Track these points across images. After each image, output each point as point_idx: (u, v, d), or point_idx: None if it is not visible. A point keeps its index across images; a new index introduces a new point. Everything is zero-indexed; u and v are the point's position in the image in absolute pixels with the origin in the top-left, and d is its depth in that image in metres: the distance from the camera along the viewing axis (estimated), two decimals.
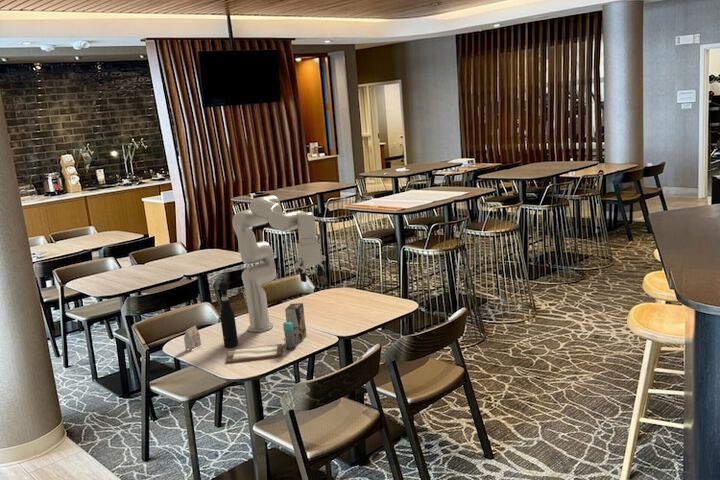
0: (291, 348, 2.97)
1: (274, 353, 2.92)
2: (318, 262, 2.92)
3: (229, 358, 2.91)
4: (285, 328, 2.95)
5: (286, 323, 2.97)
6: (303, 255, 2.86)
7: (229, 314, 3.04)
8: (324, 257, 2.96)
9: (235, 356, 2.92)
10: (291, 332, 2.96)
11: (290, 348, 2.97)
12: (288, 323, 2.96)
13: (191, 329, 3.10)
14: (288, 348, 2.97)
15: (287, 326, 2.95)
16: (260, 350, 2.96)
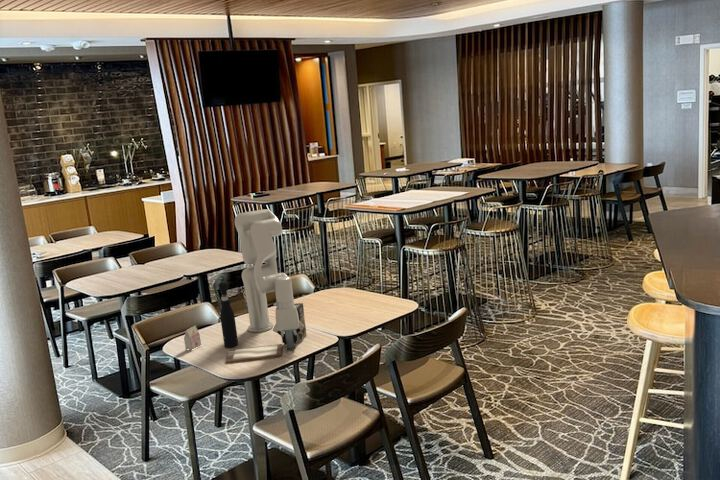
0: (291, 348, 2.97)
1: (274, 353, 2.92)
2: None
3: (229, 358, 2.91)
4: None
5: None
6: None
7: (229, 314, 3.04)
8: None
9: (235, 356, 2.92)
10: (291, 332, 2.96)
11: (290, 348, 2.97)
12: None
13: (191, 329, 3.10)
14: (288, 348, 2.97)
15: None
16: (260, 350, 2.96)
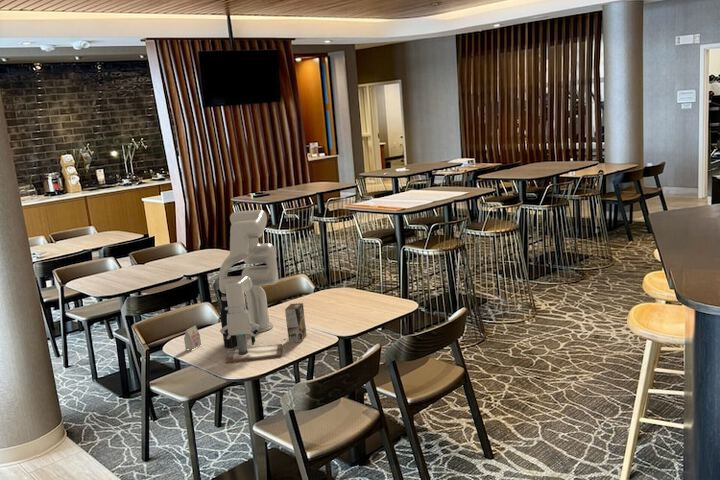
0: (243, 352, 2.93)
1: (274, 353, 2.92)
2: None
3: (229, 358, 2.91)
4: None
5: None
6: None
7: None
8: None
9: (235, 356, 2.92)
10: (243, 336, 2.93)
11: (242, 352, 2.93)
12: None
13: (191, 329, 3.10)
14: (240, 352, 2.94)
15: None
16: (260, 350, 2.96)
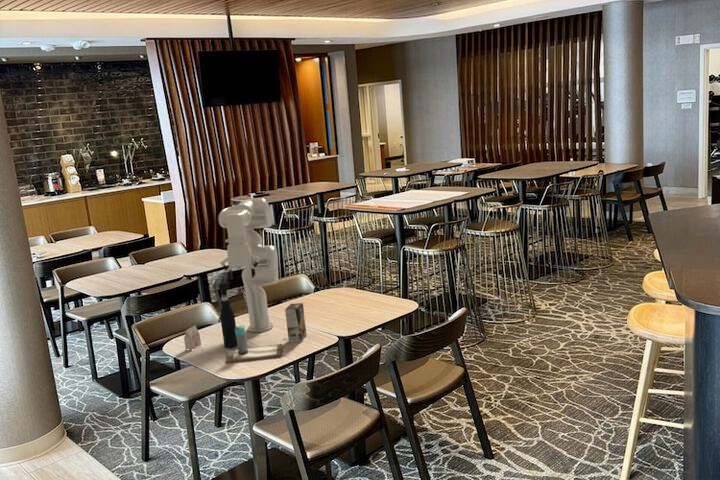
0: (243, 352, 2.93)
1: (274, 353, 2.92)
2: None
3: (229, 358, 2.91)
4: (237, 332, 2.92)
5: (238, 327, 2.93)
6: None
7: (229, 314, 3.04)
8: None
9: (235, 356, 2.92)
10: (243, 336, 2.93)
11: (242, 352, 2.93)
12: (240, 327, 2.93)
13: (191, 329, 3.10)
14: (240, 352, 2.94)
15: (239, 330, 2.91)
16: (260, 350, 2.96)
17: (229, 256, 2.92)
